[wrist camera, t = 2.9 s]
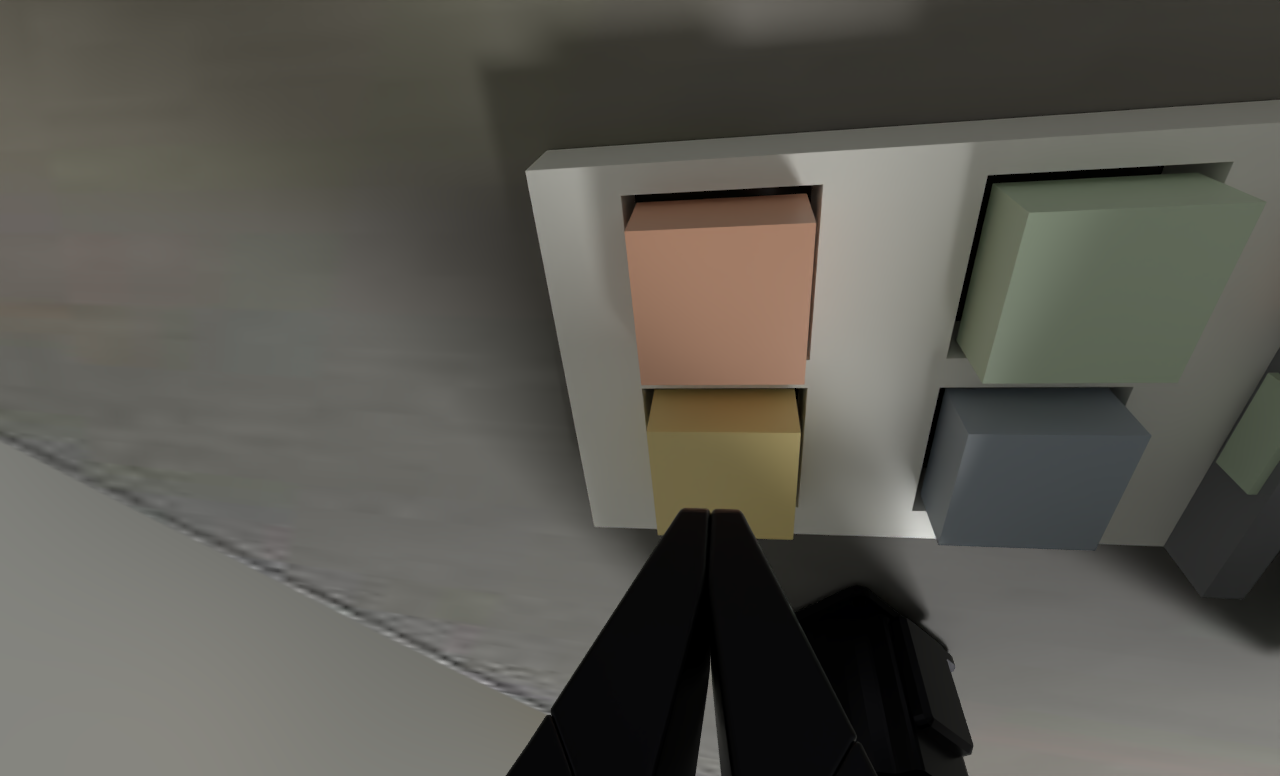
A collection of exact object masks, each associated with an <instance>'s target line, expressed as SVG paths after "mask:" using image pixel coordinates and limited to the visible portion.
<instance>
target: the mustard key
mask: <svg viewBox="0 0 1280 776" xmlns="http://www.w3.org/2000/svg"><path fill="white" fill-rule="evenodd" d="M646 433H647V442H648V451H649V460H650V469H651V478H652V487H653V496H654V505H655V514H656V523H657V532H658V535H664V534H665V532H666V531H667V529H668V528H669V526H670V524H671V523H672V521H673V520H674V518H675V517H676V515H677V514H678V512H679V511H680V510H681V509H683V508H706V509H708V510H709V511H710V512H711V513H712V511H713V510H714V509H738V510H740V511H741V512H742V513H743V514H744V516H745V518H746V520H747V522H748V524H749V526H750V528H751V530H752V532H753V533H754V535H755V537H756V539H783V540H793V534H794V520H795V507H796V493H797V479H798V466H799V452H800V438H801V430H800V423H799V416H798V410H797V403H796V396H795V389H655V390H654V395H653V400H652V405H651V410H650V416H649V421H648V426H647V431H646Z"/></svg>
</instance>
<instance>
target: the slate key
mask: <svg viewBox="0 0 1280 776" xmlns="http://www.w3.org/2000/svg"><path fill="white" fill-rule="evenodd" d="M1150 438H1151V434H1150V433H1149V432H1148V431H1147V430H1146V429H1145V428H1144V427H1143V426H1142V425H1141V423H1140V422H1139V421H1138V420H1137V419H1136V418H1135V417H1134V416H1133V415H1132V413H1131V412H1130V411H1129V410H1128V409H1127V408H1126V407H1125V406H1124V405H1123V403H1122V402H1121V401H1120V400H1119V399H1118V398H1117V397H1116V396H1115V395H1114V393H1113V392H1112V391H1111V390H1110V389H1109V388H945V391H944V396H943V400H942V404H941V408H940V413H939V417H938V421H937V426H936V430H935V434H934V439H933V443H932V447H931V452H930V456H929V460H928V464H927V469H926V473H925V477H924V482H923V486H922V490H921V498H922V500H923V503H924V506H925V509H926V512H927V514H928V517H929V520H930V523H931V526H932V529H933V531H934V534H935V537H936V540H937V543H938V545H953V546H981V547H1009V548H1037V549H1064V550H1092V551H1095V550H1096V548H1097V546H1098V544H1099V542H1100V540H1101V538H1102V536H1103V534H1104V532H1105V530H1106V528H1107V526H1108V524H1109V522H1110V520H1111V517H1112V515H1113V513H1114V511H1115V509H1116V507H1117V505H1118V503H1119V501H1120V499H1121V497H1122V495H1123V493H1124V491H1125V489H1126V487H1127V485H1128V483H1129V481H1130V479H1131V477H1132V475H1133V473H1134V471H1135V469H1136V467H1137V465H1138V463H1139V461H1140V459H1141V456H1142V454H1143V452H1144V450H1145V448H1146V446H1147V444H1148V442H1149V440H1150Z"/></svg>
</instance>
